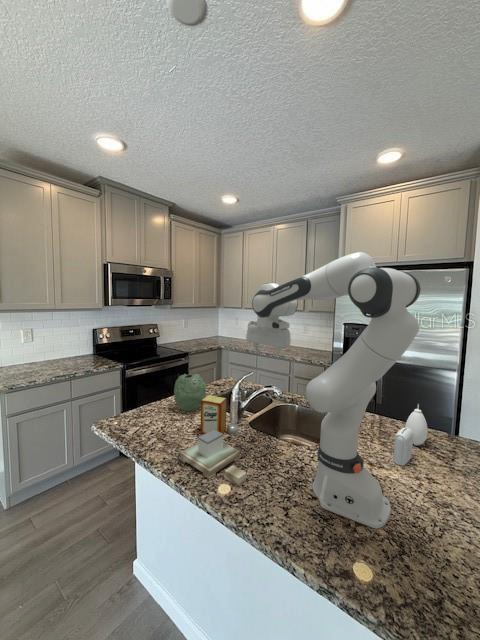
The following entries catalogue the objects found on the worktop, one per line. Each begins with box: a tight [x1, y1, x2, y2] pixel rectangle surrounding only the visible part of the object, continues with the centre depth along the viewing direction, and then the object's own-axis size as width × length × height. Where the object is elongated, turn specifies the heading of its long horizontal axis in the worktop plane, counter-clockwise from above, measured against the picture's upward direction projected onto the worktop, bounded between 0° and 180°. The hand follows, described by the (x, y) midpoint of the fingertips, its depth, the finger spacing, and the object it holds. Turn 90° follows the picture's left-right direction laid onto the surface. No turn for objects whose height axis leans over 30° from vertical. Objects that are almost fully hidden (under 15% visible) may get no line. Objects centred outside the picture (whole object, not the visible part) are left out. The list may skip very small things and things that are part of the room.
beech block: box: [224, 464, 247, 487], centre depth 91 cm, size 6×4×3 cm, turn 50°
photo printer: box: [392, 426, 413, 467], centre depth 104 cm, size 10×4×12 cm, turn 132°
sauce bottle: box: [404, 403, 428, 446], centre depth 116 cm, size 8×8×18 cm
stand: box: [179, 442, 241, 480], centre depth 102 cm, size 16×16×3 cm
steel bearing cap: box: [226, 422, 239, 436], centre depth 123 cm, size 5×5×3 cm
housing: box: [197, 430, 224, 458], centre depth 101 cm, size 8×5×6 cm, turn 140°
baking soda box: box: [200, 394, 228, 436], centre depth 121 cm, size 10×6×16 cm
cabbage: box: [173, 373, 208, 412], centre depth 144 cm, size 16×19×20 cm
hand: (266, 355), depth 113 cm, fingers open, 8 cm apart
